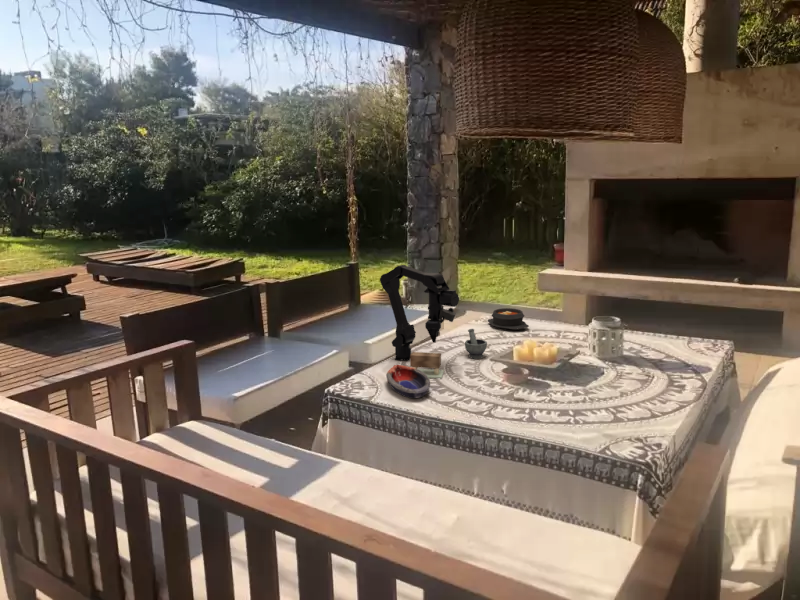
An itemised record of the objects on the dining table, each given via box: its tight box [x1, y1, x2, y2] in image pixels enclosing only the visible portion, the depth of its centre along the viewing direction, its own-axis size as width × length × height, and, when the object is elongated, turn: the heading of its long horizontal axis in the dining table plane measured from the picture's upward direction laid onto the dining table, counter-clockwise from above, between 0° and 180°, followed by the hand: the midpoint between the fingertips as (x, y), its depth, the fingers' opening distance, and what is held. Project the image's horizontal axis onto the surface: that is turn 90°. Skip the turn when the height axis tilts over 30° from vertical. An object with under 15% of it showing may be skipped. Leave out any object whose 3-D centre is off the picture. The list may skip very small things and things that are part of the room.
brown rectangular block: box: [409, 351, 442, 369], centre depth 266 cm, size 12×4×5 cm, turn 76°
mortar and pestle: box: [464, 328, 488, 360], centre depth 289 cm, size 11×9×12 cm
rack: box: [412, 367, 445, 380], centre depth 267 cm, size 14×9×4 cm, turn 81°
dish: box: [385, 364, 431, 399], centre depth 253 cm, size 16×31×5 cm, turn 14°
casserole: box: [487, 307, 530, 330], centre depth 339 cm, size 25×19×8 cm
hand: (435, 339), depth 276 cm, fingers open, 9 cm apart
